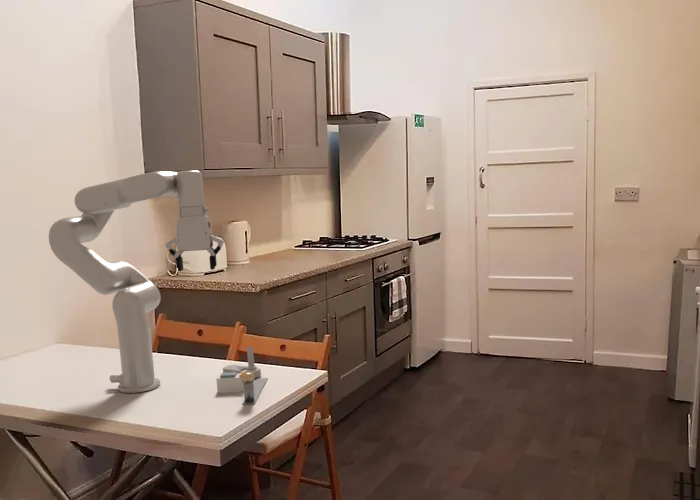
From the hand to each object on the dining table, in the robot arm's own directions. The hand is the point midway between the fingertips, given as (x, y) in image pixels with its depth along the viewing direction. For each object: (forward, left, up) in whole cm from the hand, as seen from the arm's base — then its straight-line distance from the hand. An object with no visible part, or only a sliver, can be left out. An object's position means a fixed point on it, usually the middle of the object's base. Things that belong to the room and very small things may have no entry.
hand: (196, 269), depth 208 cm
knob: (+16, -16, -36) cm, 42 cm away
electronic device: (+9, +12, -37) cm, 40 cm away
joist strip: (+16, -6, -36) cm, 40 cm away
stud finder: (+9, -3, -36) cm, 38 cm away
